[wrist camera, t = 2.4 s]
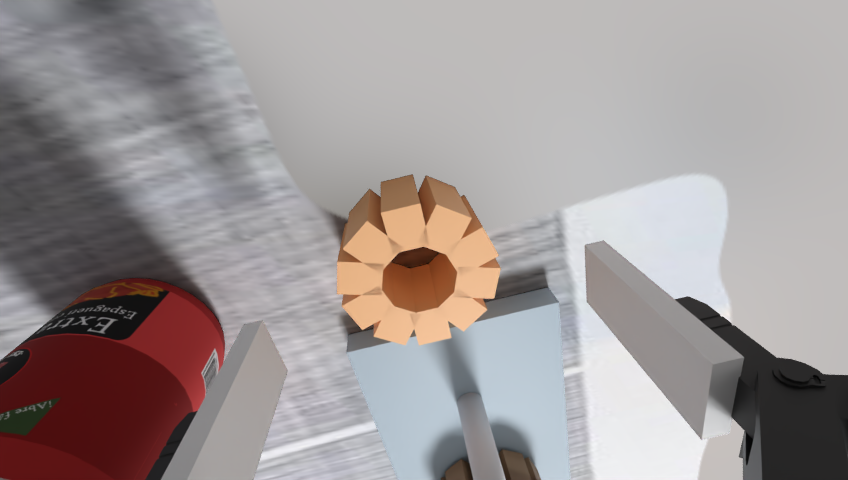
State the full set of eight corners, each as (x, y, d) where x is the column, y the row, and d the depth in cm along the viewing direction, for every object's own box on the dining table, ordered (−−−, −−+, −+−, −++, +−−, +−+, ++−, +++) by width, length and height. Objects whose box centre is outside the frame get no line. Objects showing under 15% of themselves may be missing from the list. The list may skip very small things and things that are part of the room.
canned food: (162, 249, 19) (-65, 456, 9) (259, 356, 23) (167, 589, 13) (39, 310, 20) (-292, 561, 10) (151, 405, 24) (-15, 660, 14)
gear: (325, 195, 19) (312, 229, 15) (468, 161, 19) (489, 187, 15) (364, 309, 22) (361, 359, 18) (487, 279, 22) (508, 324, 18)
